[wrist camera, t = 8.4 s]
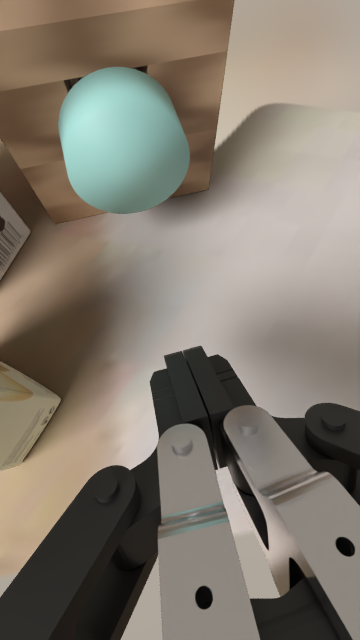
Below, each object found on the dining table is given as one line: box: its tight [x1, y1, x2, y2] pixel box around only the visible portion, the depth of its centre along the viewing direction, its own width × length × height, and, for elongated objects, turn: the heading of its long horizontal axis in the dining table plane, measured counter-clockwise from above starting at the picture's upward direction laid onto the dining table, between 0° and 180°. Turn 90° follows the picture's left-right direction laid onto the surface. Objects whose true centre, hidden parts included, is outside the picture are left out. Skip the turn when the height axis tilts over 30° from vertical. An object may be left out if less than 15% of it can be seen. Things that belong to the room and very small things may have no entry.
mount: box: [0, 0, 234, 224], centre depth 18 cm, size 12×7×11 cm, turn 106°
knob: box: [58, 67, 190, 214], centre depth 16 cm, size 6×14×6 cm, turn 16°
